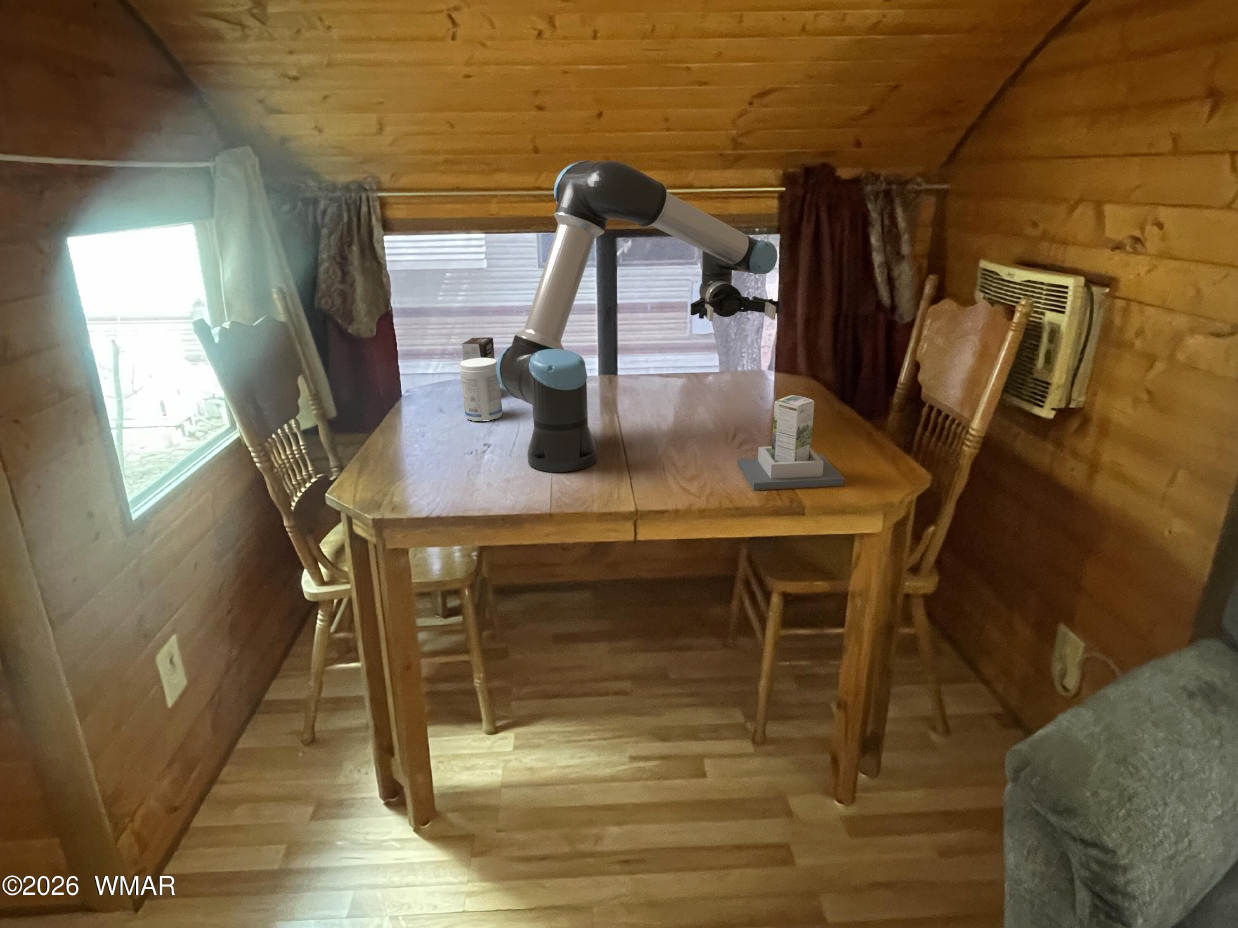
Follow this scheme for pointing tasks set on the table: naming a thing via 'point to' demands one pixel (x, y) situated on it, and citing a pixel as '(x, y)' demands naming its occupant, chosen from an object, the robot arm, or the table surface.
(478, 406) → the supplement tub
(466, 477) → the table surface
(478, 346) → the coffee box
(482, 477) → the table surface
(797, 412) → the syrup box
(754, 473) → the socket board
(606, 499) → the table surface
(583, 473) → the table surface
